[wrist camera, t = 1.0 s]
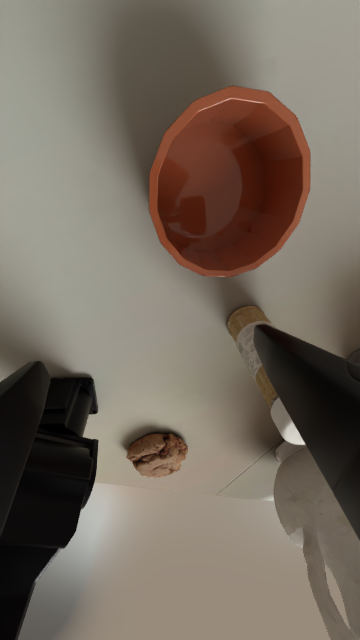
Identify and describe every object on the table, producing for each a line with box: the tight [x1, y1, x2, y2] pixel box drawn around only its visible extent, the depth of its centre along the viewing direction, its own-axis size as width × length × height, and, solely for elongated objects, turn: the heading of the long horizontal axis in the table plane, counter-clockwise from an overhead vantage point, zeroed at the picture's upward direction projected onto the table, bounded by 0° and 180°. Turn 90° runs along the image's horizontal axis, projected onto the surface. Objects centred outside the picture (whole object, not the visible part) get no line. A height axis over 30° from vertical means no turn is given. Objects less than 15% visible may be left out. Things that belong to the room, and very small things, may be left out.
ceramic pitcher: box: [274, 440, 360, 640], centre depth 33 cm, size 22×20×25 cm
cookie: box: [127, 433, 188, 477], centre depth 37 cm, size 10×11×3 cm
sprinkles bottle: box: [227, 306, 305, 445], centre depth 20 cm, size 5×5×13 cm
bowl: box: [149, 86, 310, 277], centre depth 16 cm, size 10×10×6 cm
